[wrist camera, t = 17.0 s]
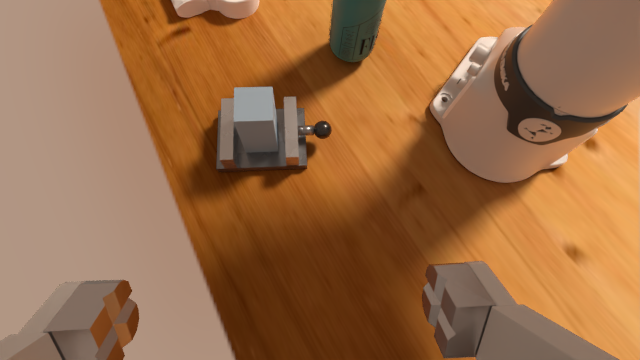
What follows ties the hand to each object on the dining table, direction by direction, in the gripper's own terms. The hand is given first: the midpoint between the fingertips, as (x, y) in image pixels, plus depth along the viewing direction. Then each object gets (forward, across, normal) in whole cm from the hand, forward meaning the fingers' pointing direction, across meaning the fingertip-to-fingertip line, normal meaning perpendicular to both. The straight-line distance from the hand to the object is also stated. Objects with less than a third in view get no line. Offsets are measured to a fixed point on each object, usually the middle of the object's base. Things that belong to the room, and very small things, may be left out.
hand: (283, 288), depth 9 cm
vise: (+35, +4, +8) cm, 36 cm away
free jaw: (+34, -2, +7) cm, 35 cm away
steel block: (+34, +4, +8) cm, 35 cm away
